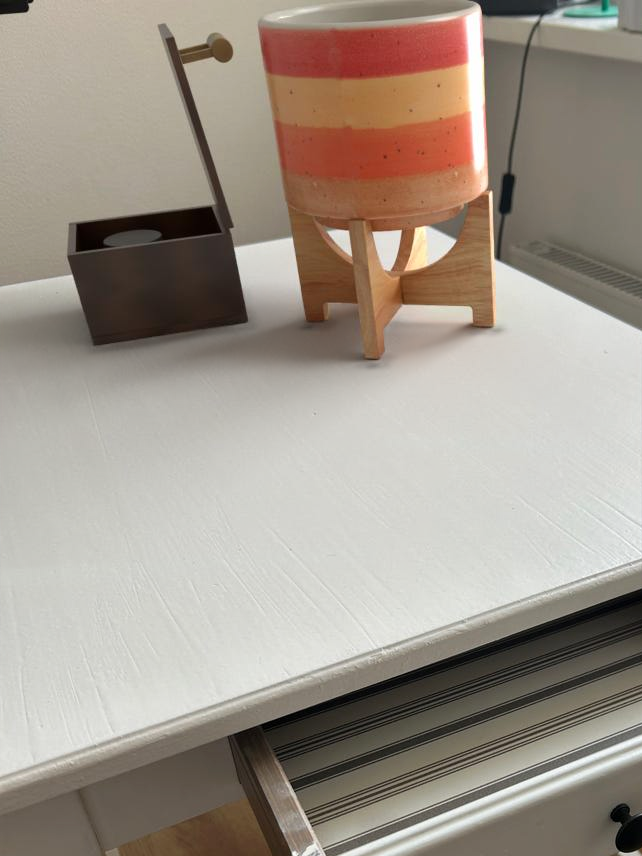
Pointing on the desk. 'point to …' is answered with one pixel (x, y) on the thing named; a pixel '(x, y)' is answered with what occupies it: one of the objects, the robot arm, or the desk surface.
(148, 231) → the canister
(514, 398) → the desk surface
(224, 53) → the lid
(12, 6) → the robot arm
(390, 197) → the planter
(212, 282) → the chest
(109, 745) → the desk surface
